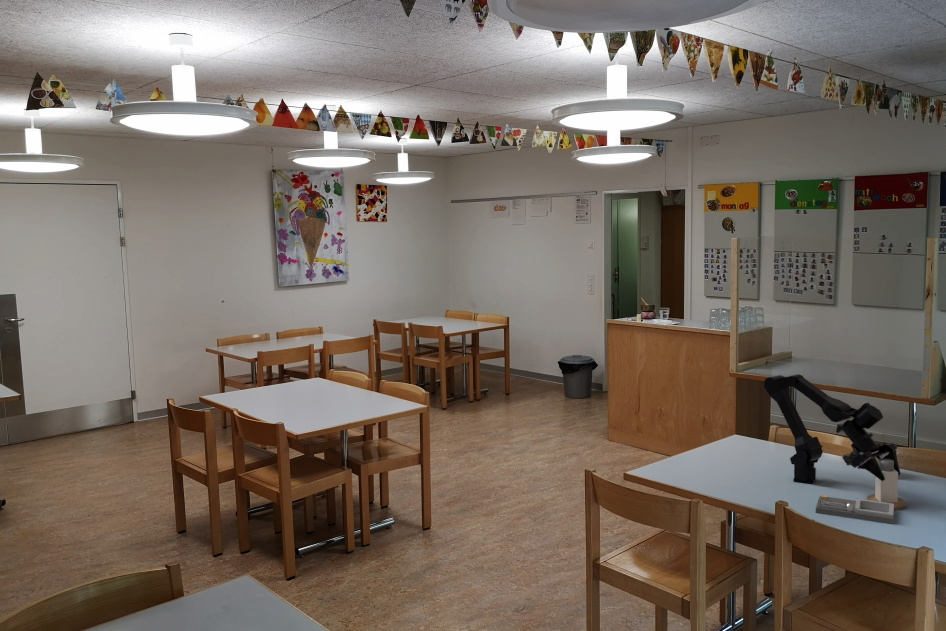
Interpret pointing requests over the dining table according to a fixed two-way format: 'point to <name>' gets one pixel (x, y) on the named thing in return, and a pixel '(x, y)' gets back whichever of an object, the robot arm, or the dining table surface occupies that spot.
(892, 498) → the white carton with cap
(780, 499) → the dining table surface
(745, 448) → the dining table surface
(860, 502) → the grey control panel
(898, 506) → the disc
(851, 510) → the lever
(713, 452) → the dining table surface
